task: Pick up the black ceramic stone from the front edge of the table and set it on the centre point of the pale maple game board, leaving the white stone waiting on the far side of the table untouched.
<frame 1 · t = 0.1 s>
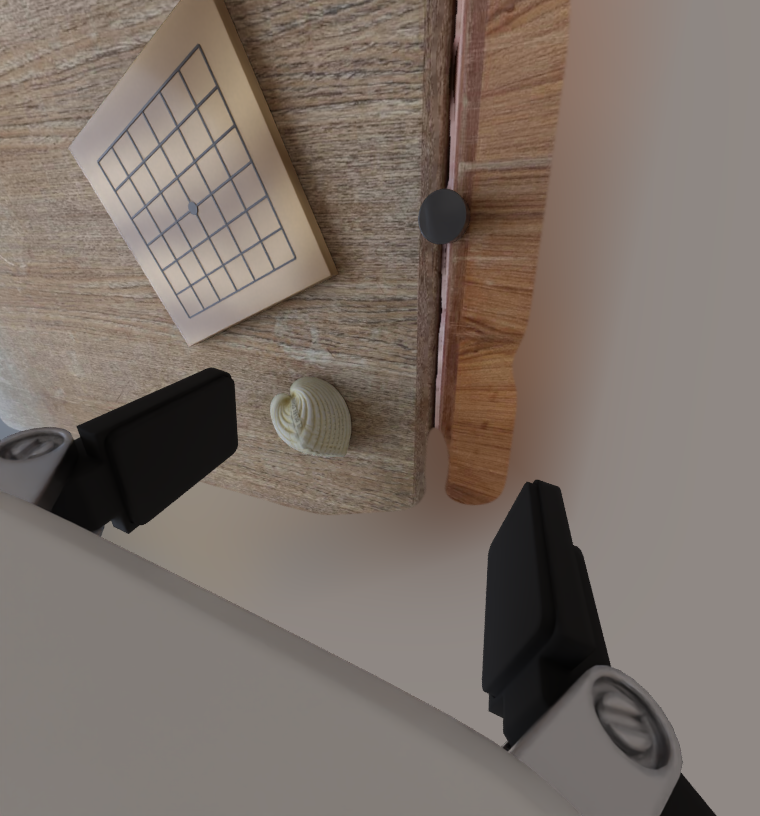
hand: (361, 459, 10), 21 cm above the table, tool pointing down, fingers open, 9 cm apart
seashell: (319, 411, 37), on the table
black stone: (448, 219, 24), on the table
board: (206, 209, 30), on the table
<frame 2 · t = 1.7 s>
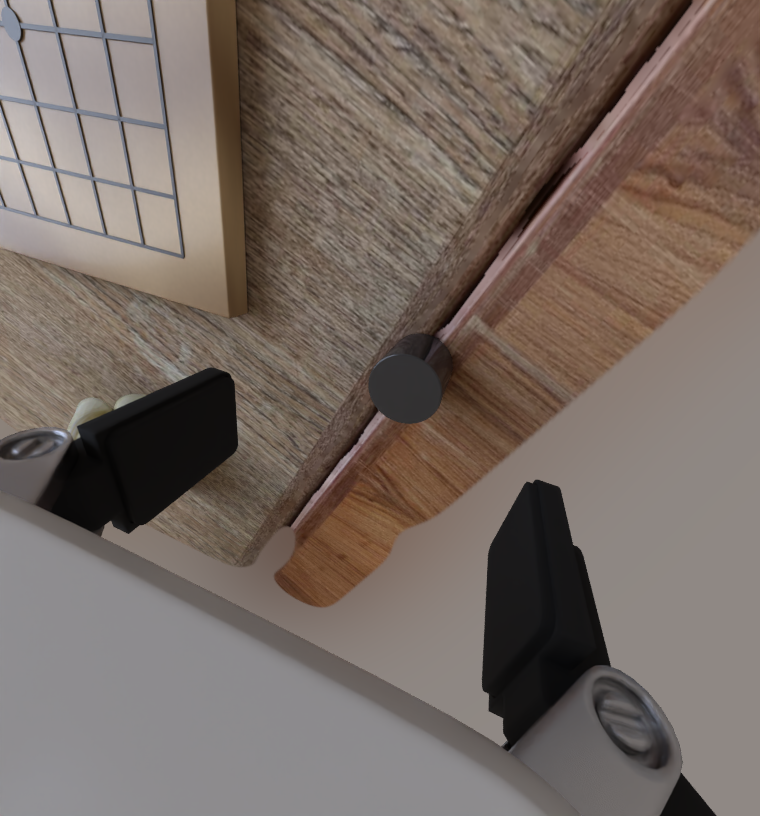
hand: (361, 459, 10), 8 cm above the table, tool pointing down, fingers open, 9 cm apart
seashell: (161, 430, 26), on the table
black stone: (420, 364, 16), on the table
board: (54, 42, 15), on the table
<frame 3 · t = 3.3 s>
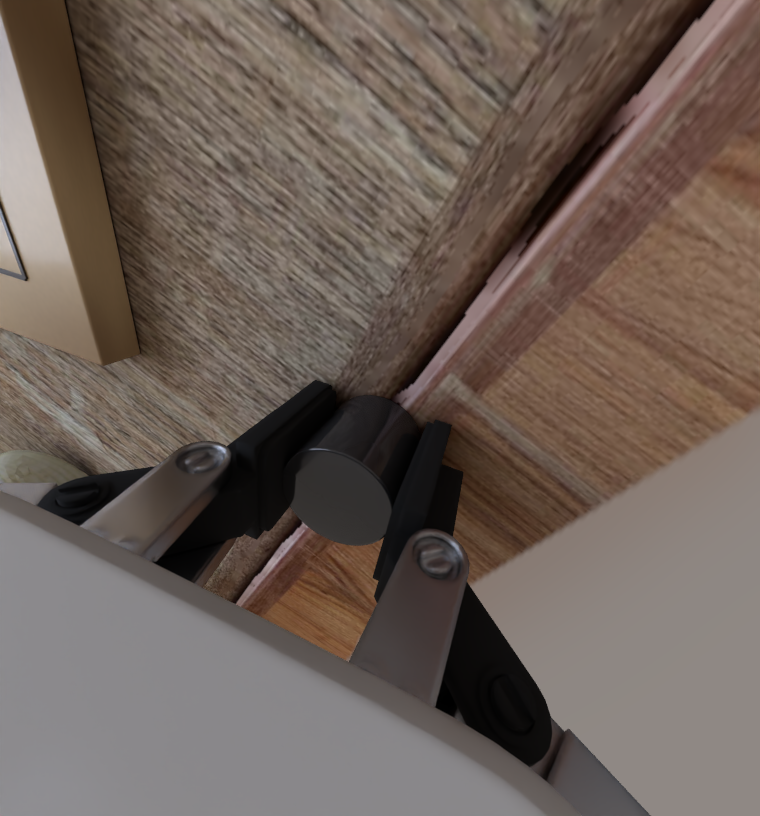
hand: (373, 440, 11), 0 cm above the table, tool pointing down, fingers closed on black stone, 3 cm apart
seashell: (71, 486, 21), on the table
black stone: (375, 437, 11), on the table, touching gripper
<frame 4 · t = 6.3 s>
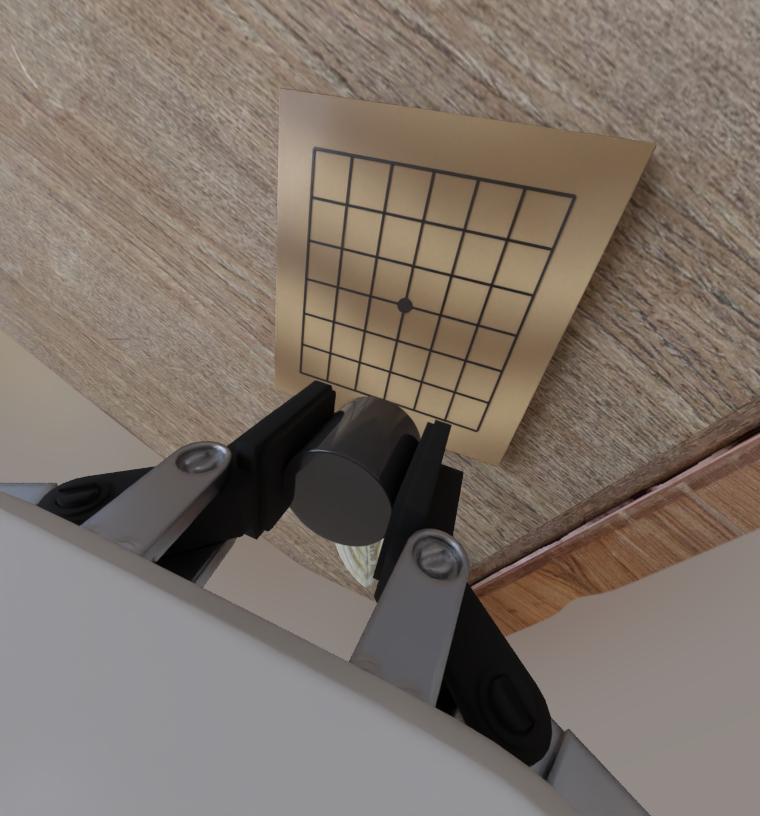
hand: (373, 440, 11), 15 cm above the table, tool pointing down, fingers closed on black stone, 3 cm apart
seashell: (372, 512, 34), on the table
black stone: (375, 438, 11), point 15 cm above the table, touching gripper
board: (410, 301, 23), on the table
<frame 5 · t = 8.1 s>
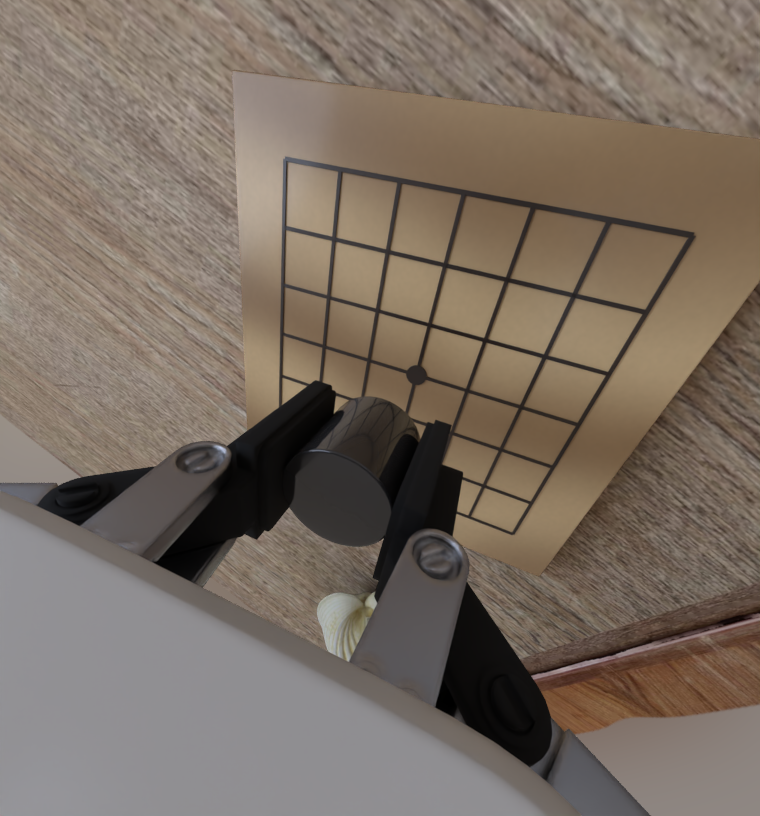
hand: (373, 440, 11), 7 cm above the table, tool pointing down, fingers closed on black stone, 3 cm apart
seashell: (373, 596, 28), on the table
black stone: (375, 438, 11), point 7 cm above the table, touching gripper
board: (423, 364, 17), on the table
when the fingers open (2 cm above the table, at t = 9.7 s): black stone stays where it is, resting on board.
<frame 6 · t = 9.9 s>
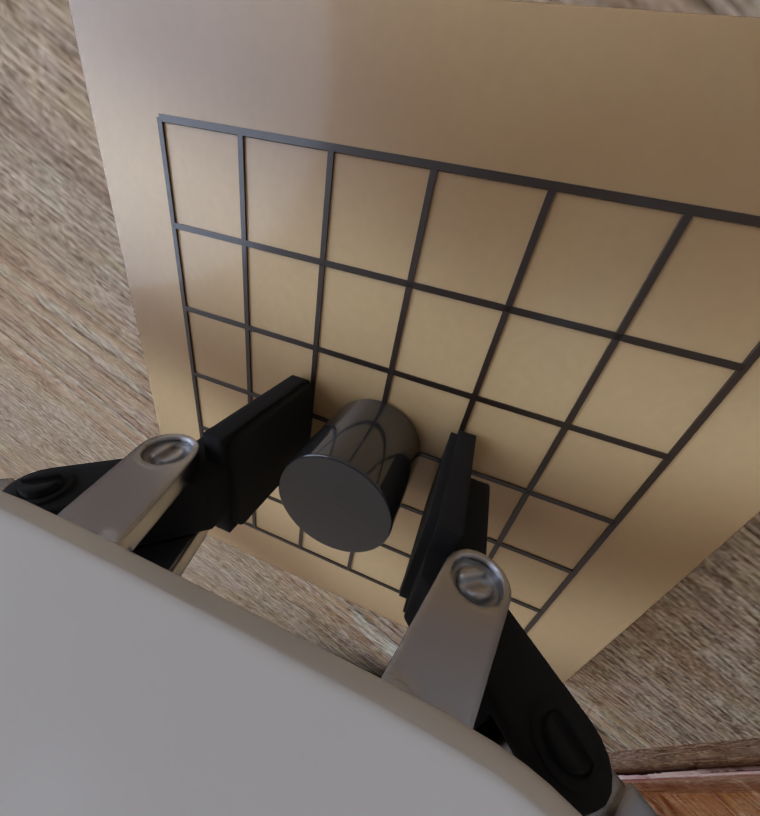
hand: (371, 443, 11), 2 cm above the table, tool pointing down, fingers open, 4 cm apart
black stone: (374, 441, 11), point 2 cm above the table, touching board
board: (389, 417, 12), on the table
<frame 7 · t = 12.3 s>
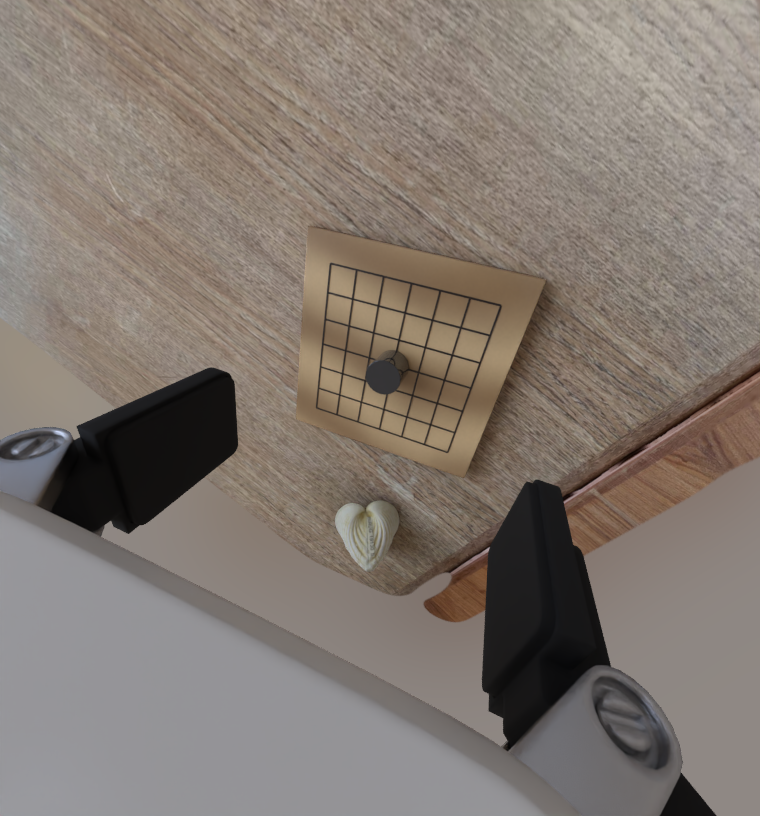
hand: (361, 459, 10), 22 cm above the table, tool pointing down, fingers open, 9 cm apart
seashell: (370, 514, 43), on the table
black stone: (392, 366, 31), point 2 cm above the table, touching board
board: (397, 360, 32), on the table
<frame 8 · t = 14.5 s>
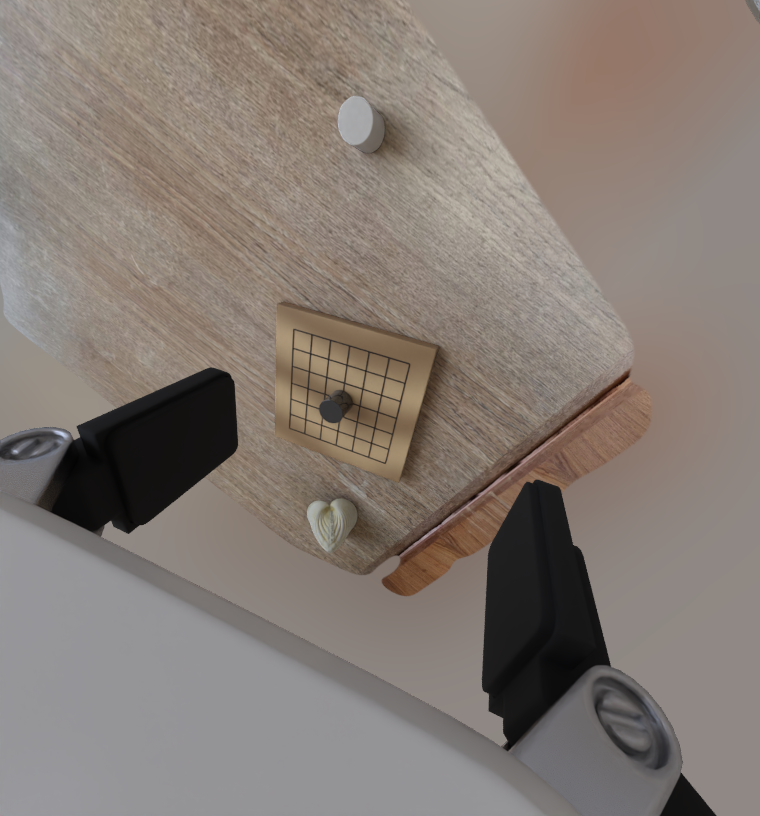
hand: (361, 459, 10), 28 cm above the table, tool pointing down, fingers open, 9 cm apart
seashell: (336, 509, 55), on the table
white stone: (368, 131, 30), on the table
black stone: (341, 400, 42), point 2 cm above the table, touching board
board: (346, 395, 43), on the table
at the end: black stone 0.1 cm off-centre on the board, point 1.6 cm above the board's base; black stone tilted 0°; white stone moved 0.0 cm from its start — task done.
